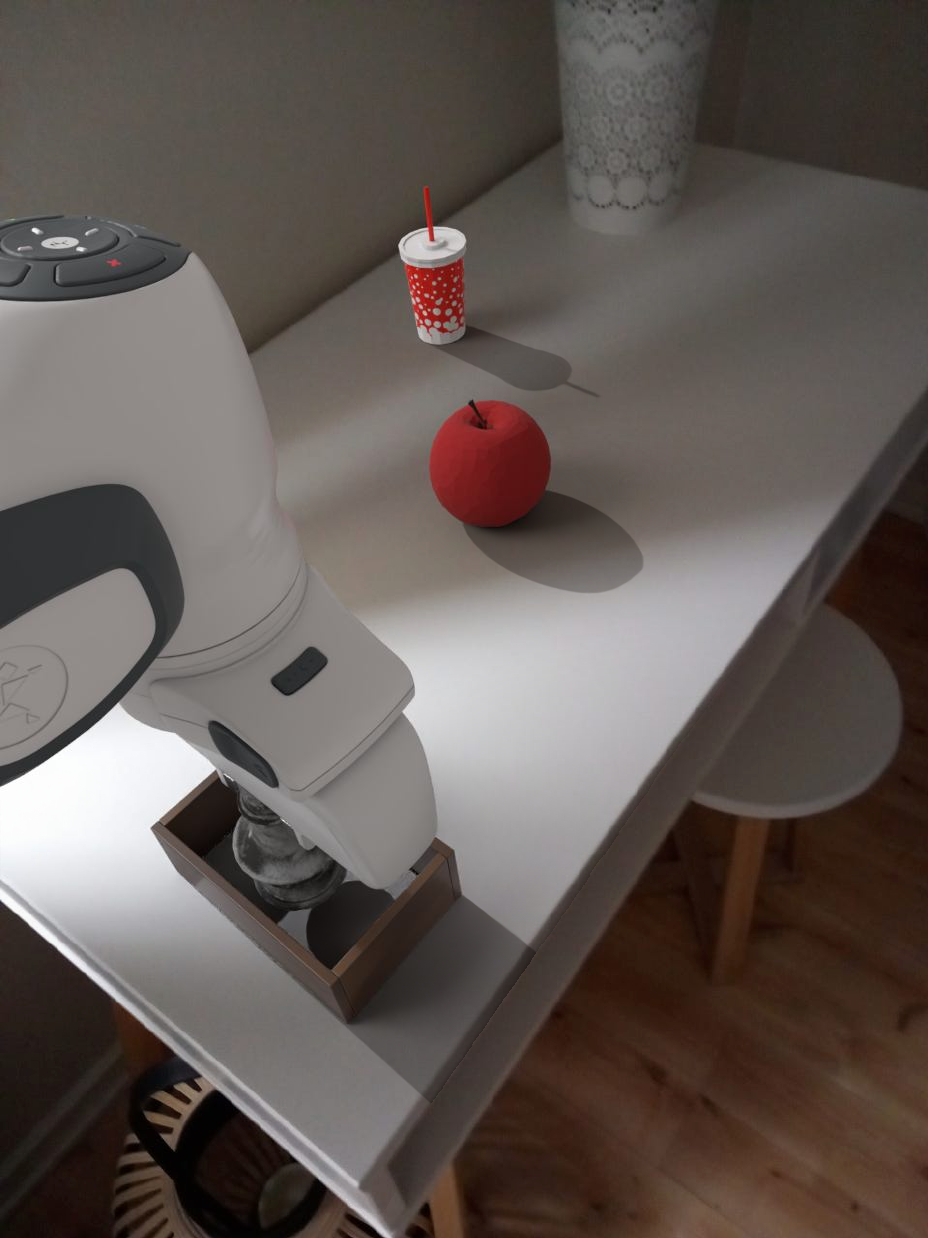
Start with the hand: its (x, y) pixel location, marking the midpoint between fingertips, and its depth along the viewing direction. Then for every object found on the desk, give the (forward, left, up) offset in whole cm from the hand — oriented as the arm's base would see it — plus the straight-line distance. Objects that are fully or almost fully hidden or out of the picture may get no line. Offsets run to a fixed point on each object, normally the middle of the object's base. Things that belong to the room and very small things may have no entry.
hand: (277, 807), depth 49 cm
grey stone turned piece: (0, 0, -6) cm, 6 cm away
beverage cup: (+48, +32, -9) cm, 59 cm away
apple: (+31, +12, -9) cm, 35 cm away
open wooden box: (0, 0, -9) cm, 9 cm away
